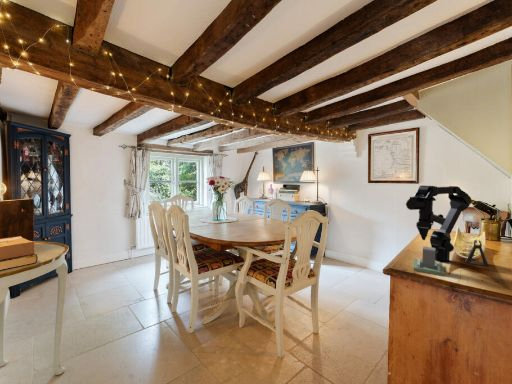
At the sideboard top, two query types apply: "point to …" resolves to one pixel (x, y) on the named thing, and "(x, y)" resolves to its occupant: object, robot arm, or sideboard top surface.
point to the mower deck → (437, 270)
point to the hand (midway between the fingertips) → (424, 238)
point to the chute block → (428, 257)
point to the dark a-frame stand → (471, 253)
